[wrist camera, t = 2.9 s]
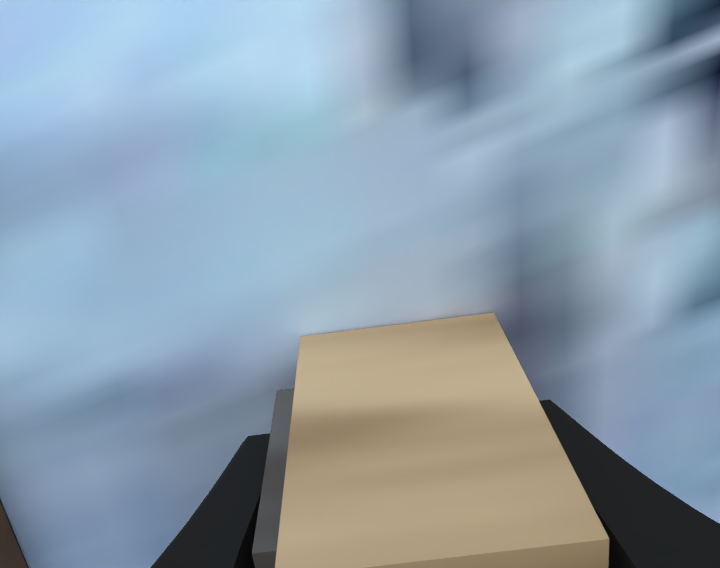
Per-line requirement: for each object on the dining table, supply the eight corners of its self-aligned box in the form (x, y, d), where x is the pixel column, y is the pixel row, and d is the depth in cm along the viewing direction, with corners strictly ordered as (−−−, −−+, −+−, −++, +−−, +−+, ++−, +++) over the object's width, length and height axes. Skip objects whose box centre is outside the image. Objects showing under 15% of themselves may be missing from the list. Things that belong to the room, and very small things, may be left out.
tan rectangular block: (502, 489, 14) (601, 781, 8) (311, 512, 14) (296, 815, 8) (493, 312, 12) (608, 538, 7) (278, 338, 12) (236, 582, 7)
